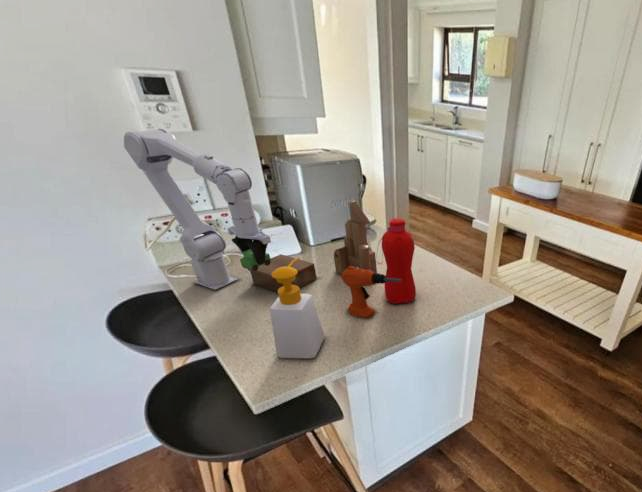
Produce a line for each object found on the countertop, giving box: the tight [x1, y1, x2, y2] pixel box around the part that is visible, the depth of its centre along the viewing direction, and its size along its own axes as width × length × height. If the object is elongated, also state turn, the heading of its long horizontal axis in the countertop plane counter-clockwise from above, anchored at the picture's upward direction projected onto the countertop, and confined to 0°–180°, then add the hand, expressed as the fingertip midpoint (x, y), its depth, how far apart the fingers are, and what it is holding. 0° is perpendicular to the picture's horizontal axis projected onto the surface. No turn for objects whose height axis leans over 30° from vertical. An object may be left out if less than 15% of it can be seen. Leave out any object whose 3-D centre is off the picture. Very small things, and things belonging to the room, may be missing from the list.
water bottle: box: [376, 217, 417, 304], centre depth 108 cm, size 9×11×25 cm
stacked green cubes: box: [239, 249, 271, 271], centre depth 107 cm, size 7×4×5 cm, turn 155°
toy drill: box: [341, 266, 402, 319], centre depth 101 cm, size 5×19×15 cm, turn 71°
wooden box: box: [249, 265, 317, 293], centre depth 119 cm, size 13×15×5 cm
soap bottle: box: [269, 256, 326, 359], centre depth 88 cm, size 10×14×22 cm
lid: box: [247, 254, 315, 278], centre depth 117 cm, size 13×15×1 cm
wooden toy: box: [333, 200, 378, 276], centre depth 119 cm, size 16×7×25 cm, turn 57°
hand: (256, 261), depth 108 cm, fingers closed on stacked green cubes, 4 cm apart
